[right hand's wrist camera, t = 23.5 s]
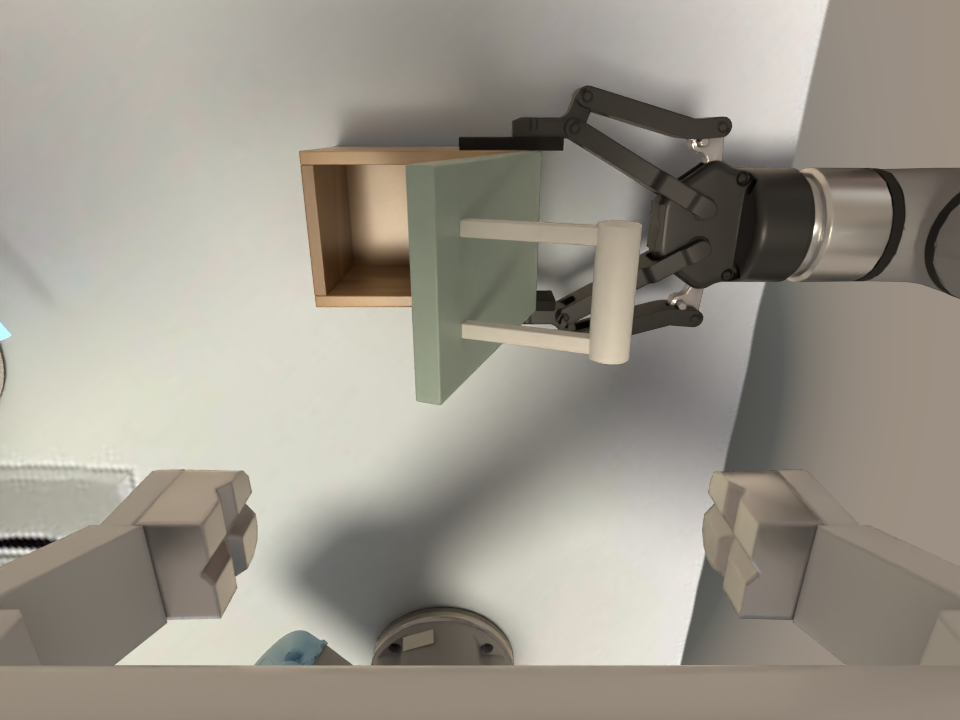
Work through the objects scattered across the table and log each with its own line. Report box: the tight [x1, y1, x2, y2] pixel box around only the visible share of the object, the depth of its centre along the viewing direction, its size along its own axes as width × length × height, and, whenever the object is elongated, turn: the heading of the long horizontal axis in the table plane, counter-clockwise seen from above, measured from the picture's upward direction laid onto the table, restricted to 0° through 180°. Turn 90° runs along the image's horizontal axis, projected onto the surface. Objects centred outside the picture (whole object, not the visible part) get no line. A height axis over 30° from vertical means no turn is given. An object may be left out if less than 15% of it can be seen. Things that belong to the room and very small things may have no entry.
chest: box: [299, 146, 529, 307], centre depth 42 cm, size 14×10×10 cm
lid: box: [405, 151, 642, 405], centre depth 29 cm, size 15×10×8 cm
